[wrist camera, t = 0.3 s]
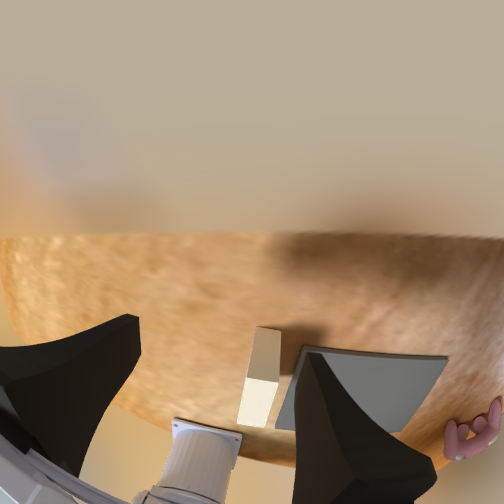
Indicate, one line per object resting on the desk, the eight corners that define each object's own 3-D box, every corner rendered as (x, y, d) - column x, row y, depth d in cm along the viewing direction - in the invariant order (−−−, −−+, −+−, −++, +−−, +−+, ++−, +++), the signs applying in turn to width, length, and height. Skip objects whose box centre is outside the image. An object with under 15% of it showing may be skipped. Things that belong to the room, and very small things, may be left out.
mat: (399, 428, 24) (400, 431, 23) (275, 424, 25) (274, 428, 24) (446, 356, 20) (448, 360, 20) (302, 345, 21) (303, 349, 21)
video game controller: (435, 426, 26) (441, 469, 21) (448, 419, 23) (455, 467, 18) (487, 404, 24) (494, 443, 19) (501, 394, 21) (510, 437, 16)
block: (269, 375, 23) (264, 427, 17) (246, 372, 23) (236, 423, 17) (281, 330, 21) (279, 382, 15) (256, 326, 21) (246, 377, 16)
